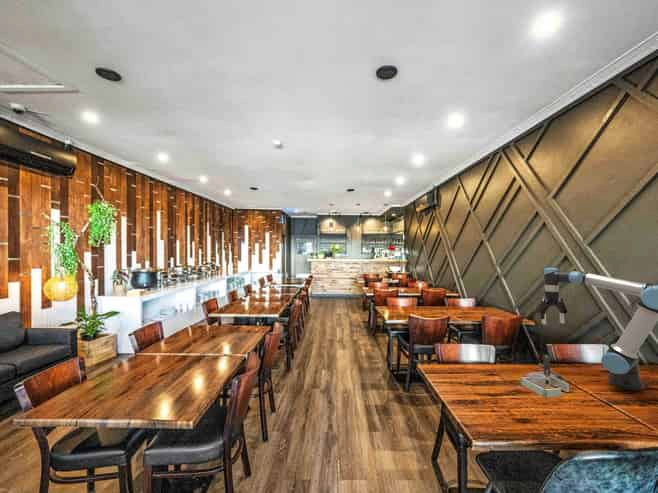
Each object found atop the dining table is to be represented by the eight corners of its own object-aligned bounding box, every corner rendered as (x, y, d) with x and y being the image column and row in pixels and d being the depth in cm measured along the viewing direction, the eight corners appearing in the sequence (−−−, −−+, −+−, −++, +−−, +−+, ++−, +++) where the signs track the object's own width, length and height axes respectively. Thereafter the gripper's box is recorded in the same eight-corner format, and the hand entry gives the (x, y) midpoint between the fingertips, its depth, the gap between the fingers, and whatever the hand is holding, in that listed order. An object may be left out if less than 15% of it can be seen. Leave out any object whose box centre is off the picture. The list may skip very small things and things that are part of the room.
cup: (548, 387, 174) (547, 373, 174) (554, 393, 166) (553, 379, 166) (527, 385, 177) (526, 371, 177) (532, 391, 169) (531, 377, 169)
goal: (535, 383, 179) (535, 376, 180) (561, 396, 162) (561, 389, 162) (520, 384, 178) (520, 377, 178) (544, 397, 161) (544, 390, 161)
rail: (555, 378, 186) (555, 373, 187) (563, 381, 181) (562, 376, 181) (523, 380, 184) (522, 375, 184) (529, 383, 179) (529, 378, 179)
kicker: (546, 377, 187) (545, 353, 188) (576, 391, 167) (575, 364, 168) (537, 377, 186) (537, 353, 187) (566, 392, 167) (565, 365, 167)
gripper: (563, 290, 202) (564, 321, 201) (530, 291, 198) (531, 323, 197) (573, 291, 194) (575, 323, 193) (539, 292, 191) (541, 325, 190)
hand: (553, 323), depth 195 cm, fingers open, 13 cm apart
